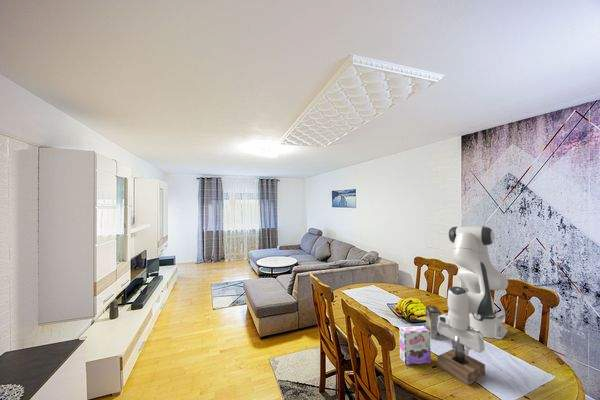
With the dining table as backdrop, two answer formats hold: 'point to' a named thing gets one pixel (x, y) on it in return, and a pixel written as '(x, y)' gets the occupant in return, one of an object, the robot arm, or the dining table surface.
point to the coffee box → (433, 321)
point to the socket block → (461, 367)
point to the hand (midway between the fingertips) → (459, 351)
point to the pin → (459, 351)
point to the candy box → (414, 345)
